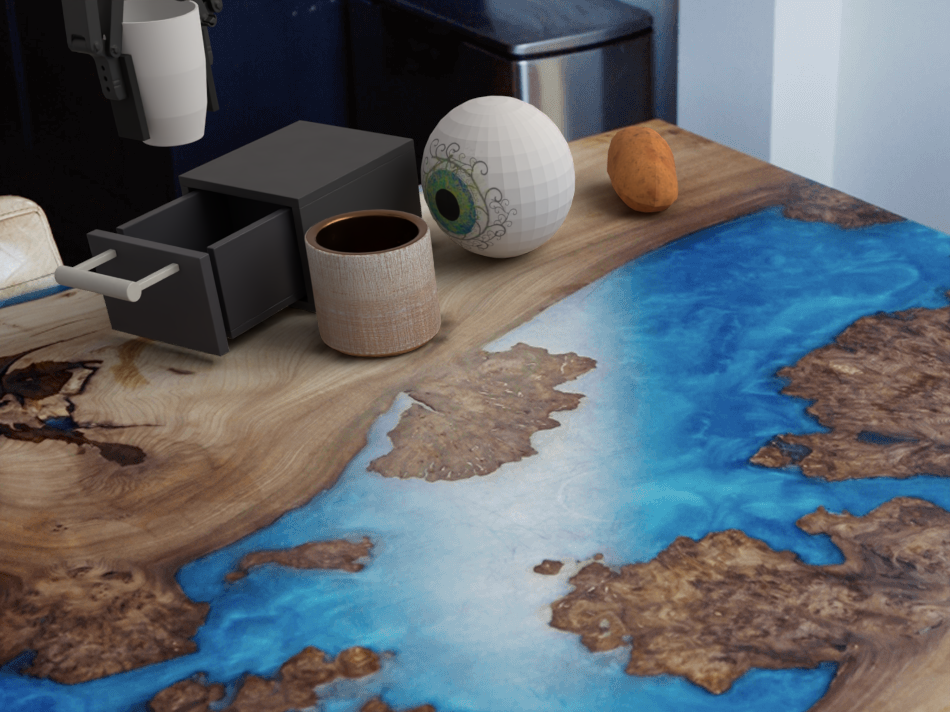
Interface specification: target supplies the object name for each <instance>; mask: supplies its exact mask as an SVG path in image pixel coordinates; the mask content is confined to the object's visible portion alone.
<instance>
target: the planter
mask: <svg viewBox="0 0 950 712" xmlns="http://www.w3.org/2000/svg"><path fill="white" fill-rule="evenodd" d="M431 238H432V237H431V230H430V225H429V224H428V222H427V221H426V220H425V219H424V218H423V217H422V218H420V217H419V216H416V215H414V214H411V213H407V212H402V211H396V210H383V209H374V210H360V211H353V212H347V213H343V214H339V215H335V216H332V217H329V218H326V219H324V220H322V221H320V222H318V223H316V224H315V225H313V226H312V227H311V228H309V229H308V231H307V232H306V234H305V245H306V251H307V257H308V263H309V269H310V275H311V282H312V288H313V295H314V302H315V308H316V313H315V314H316V321H317V326H318V332H319V335H320V339H321V340H322V342H323V343H324V344H325V345H326V346H327V347H329V348H331V349H333V350H334V351H336V352H339V353H341V354H344V355H347V356H352V357H358V358H371V359H372V358H373V359H374V358H376V359H377V358H387V357H388V358H389V357H395V356H399V355H403V354H407V353H410V352H413V351H415V350H417V349H419V348H421V347H424V346H425V345H426V344H428V343H429V342H430V341H432V339H434V338H435V337H436V336H437V335H438V333H439V332H440V330H441V326H442V316H441V308H440V300H439V293H438V287H437V286H438V285H437V277H436V270H435V269H436V268H435V262H434V254H433V246H432V239H431Z"/></svg>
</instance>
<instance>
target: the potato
mask: <svg viewBox="0 0 950 712" xmlns="http://www.w3.org/2000/svg"><path fill="white" fill-rule="evenodd" d="M606 158H607V162H606V173H607V175H608V177H609V179H610V182H611V186H612V188H613V189H614V192H615V193H616V194H617V196H618V197H619V198H620V199H621V201H622V202H623V203H624V204H625V205H626V206H627V207H628V208H630V209H632V210H633V211H635V212H639V213H640V212H641V213H655V212H664V211H665V210H667V209H668V208H670V207H671V206H672V205H673V204H674V202H676V201H677V199H678V196H679V195H678V194H679V181H678V177H677V169H676V167H677V166H676V161H675V156H674V153H673V151H672V149H671V147H670V145H669V144H668V142H667V140H666V139H665V138H663V137H662V136H661V135H660V134H659V132H658V131H656V130H655V129H653V128H651V127H647V126H635V125H634V126H633V125H631V126H628V127H625V128H623V129H621V130H619V131H617V132H616V133H615V134H614V135H613V137H612V138H611V139H610V143H609V147H608V150H607V157H606Z"/></svg>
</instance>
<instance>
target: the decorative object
mask: <svg viewBox="0 0 950 712" xmlns="http://www.w3.org/2000/svg"><path fill="white" fill-rule="evenodd" d="M570 149H571V148H570V146H569V144H568V142H567V140H566V138H565V136H564V135H563V133H562V132H561V130H560V129H559V127H558V126H557V125H556V124H555V122H554V121H553V120H552V119H551V118H550V117H549V116H548V115H547V114H545V113H544V112H543V111H541V110H540V109H538V108H537V107H536V106H535V105H533V104H531V103H528V102H526V101H523V100H521V99H518V98H516V97H513V96H512V97H511V96H505V95H487V96H481V97H476V98H472V99H469V100H467V101H465V102H462V103H461V104H459V105H458V106H457V105H456V107H454V108H453V109H451V110H450V111H449V112H447V114H446V115H444V116H443V117H442V118H441V119H440V120H439V122H438V123H437V125H436V126H435V128H434V129H433V130H432V132H431V133H430V134H429V137H428V139H427V142H426V144H425V147H424V149H423V155H422V159H421V165H420V184H421V190H422V194H423V198H424V201H425V203H426V206H427V208H428V210H429V213H430V215H431V217H432V220H433V221H434V222H435V223H436V224H437V226H438V227H439V229H440V230H441V231H442V232H443V233H444V234H445V235H446V236H447V237H448V238H449V239H450V240H451V241H453V242H454V243H455V244H457V245H458V246H460V247H461V248H463V249H465V250H466V251H468V252H470V253H473V254H476V255H480V256H483V257H487V258H492V259H493V258H494V259H507V258H515V257H519V256H523V255H525V254H527V253H530V252H533V251H535V250H537V249H538V248H540V247H542V245H544V244H545V243H547V242H548V241H549V240H550V239H552V238H553V236H554V235H555V234H556V233H557V232H558V230H559V229H560V228H561V227H562V225H563V224H564V223H565V220H566V218H567V216H568V214H569V212H570V210H571V207H572V204H573V200H574V196H575V188H576V172H575V164H574V158H573V154H572V152H571V150H570Z"/></svg>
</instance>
